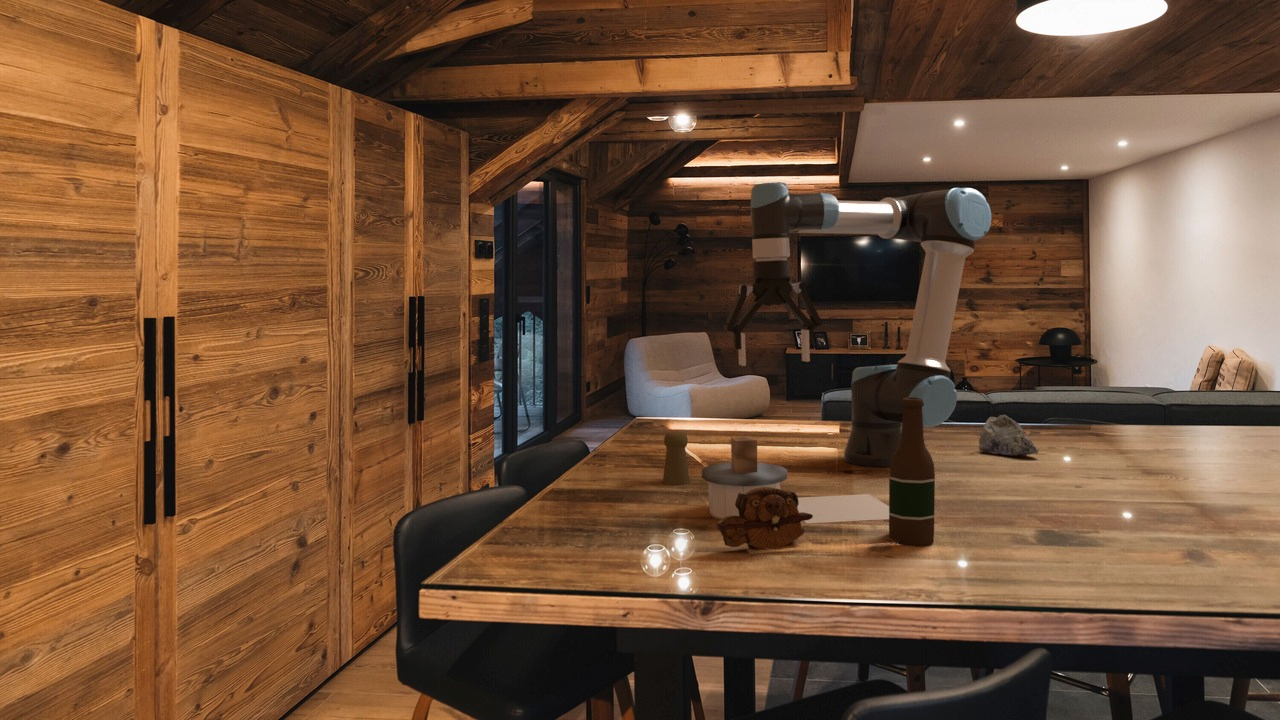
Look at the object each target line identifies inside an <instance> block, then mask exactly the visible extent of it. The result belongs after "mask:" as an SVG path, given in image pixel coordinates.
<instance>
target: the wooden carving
mask: <svg viewBox="0 0 1280 720" xmlns="http://www.w3.org/2000/svg"><path fill="white" fill-rule="evenodd" d="M798 498H799V497H798V495H797V493H796V492H795V491H792V490H787V491H786V490H784V489H781V488H780V489H776V488H772V487H759V488H755V489H752V490H750V491H748V492H747V493H745V494H742V493H739V494H738V497H737V499H736V502H735V505H736V508H737V509H738V511H739V516H727V517H723V519H722V520H721V519H719V521H717V522H716V528H717V529H718V530H719V532H720V534H721V536H722V539H723V542H724V546H727V547H731V548H738V547H741V546H742V545H745V544H747V545H748V546H752V547H754V548H756V549H757V548H758V549H771V548H781V547H784V546H787V545H789V544H791V543H793V542H795V541H797V540H798V539H800V538H801V537H802V536H803V535H804V534H805V533H806V530H805V529H804V528H803V527H802V523H801V522H804V521H805V520H809V519H811V518H812V517H813V515H812V514H808V513H804V512H801V513H799V511H798V508H797V507H798Z"/></svg>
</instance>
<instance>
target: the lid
mask: <svg viewBox="0 0 1280 720" xmlns="http://www.w3.org/2000/svg"><path fill="white" fill-rule="evenodd" d="M730 444H731V445H730V446H731V447H730V449H731V450H730V453H731V460H730V461H731V462H719V463H714V464H710V465H707V466H704V467H703V468H702V469H701V478H702V480H704V481H706V482H711V483H716V484H722V485H731V486H761V485H770V484H776V483H779V482H780V483H782V482H784V481H786V480H787V479H788V469H786V468H785V467H783V466H780V465H777V464H772V463H766V462H758V440H757V439H756V438H754V437H753V436H736V437H735V436H733V437H731V438H730Z"/></svg>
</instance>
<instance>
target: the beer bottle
mask: <svg viewBox="0 0 1280 720" xmlns="http://www.w3.org/2000/svg"><path fill="white" fill-rule="evenodd" d="M902 406H903V421H902V436H901V442H900V446H899V447H898V449H897V450H896V452H895V453H894V456H893V458H892V461H891V465H890V466H889V467H890V468H889V477H888V478H889V480H888V481H889V483H888V485H889V488H888V489H889V490H888V491H889V492H888V495H889V496H888V499H889V500H888V502H889V503H888V506H889V519H888V531H889V532H888V534H889V535H888V536H889V538H888V539H892V540H895V541H894V543H895V544H897V545H899V546H906V547H907V546H909V547H923V546H924V547H925V546H929V545H932V544H933V543H934V542H935V541H934V538H935V504H936V503H935V501H936V500H935V498H936V497H935V493H936V492H935V489H936V488H935V482H936V476H935V474H936V473H935V463H934V461H933V457H932V454H931V453H930V451H929V450H928V448H927V446H926V444H925V438H924V437H925V436H924V426H923V416H922V407H923V406H924V402H923V399H921V398H916V397H908V398H904V399H903V401H902Z"/></svg>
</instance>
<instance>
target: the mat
mask: <svg viewBox="0 0 1280 720" xmlns="http://www.w3.org/2000/svg"><path fill="white" fill-rule="evenodd" d="M797 498H798V507H797V508H798V511H799V513H801V512H804V513H808V514H812V515H813V517H812V518H811V519H809V520H805V521H803V522H804V523H805V524H807V525H809V524H827V523H828V524H829V523H845V522H846V523H847V522H864V521H867V522H868V521H869V522H870V521H884V520H886V521H887V520H888V521H889V504H888V505H887V504H886V503H884V502H883V501H881V500H880V499H878V498H876V497H874V496H873V495H871V494H869V493H868V494H867V493H864V494H863V493H862V494H845V495H826V496H825V495H824V496H821V495H820V496H805V497H804V496H803V497H797Z"/></svg>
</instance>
